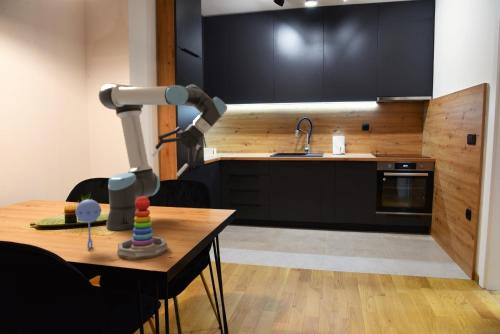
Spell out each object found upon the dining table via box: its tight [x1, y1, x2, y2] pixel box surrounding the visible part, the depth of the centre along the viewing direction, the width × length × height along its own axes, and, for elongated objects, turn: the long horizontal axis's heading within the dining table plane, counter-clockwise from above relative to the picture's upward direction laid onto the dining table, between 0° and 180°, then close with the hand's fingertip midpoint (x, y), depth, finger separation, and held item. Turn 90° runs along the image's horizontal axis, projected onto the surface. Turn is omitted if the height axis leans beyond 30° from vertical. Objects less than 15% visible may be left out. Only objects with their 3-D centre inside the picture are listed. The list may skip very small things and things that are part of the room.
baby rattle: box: [75, 198, 102, 250], centre depth 135 cm, size 9×9×18 cm
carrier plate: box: [116, 236, 168, 261], centre depth 131 cm, size 17×17×3 cm
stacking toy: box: [131, 196, 155, 250], centre depth 130 cm, size 8×8×19 cm
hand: (164, 165), depth 157 cm, fingers open, 13 cm apart
